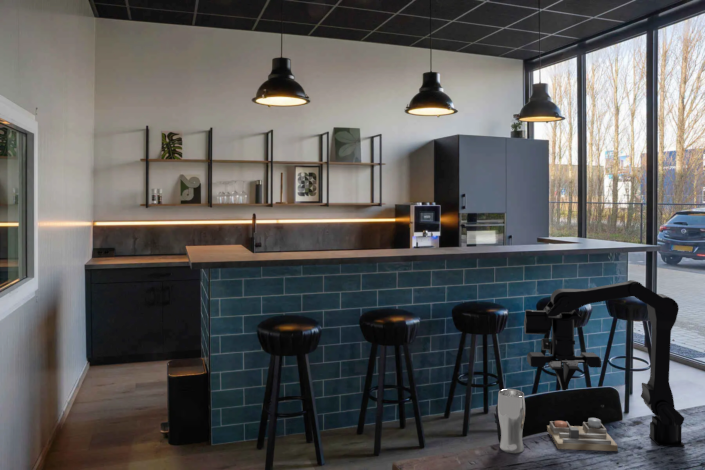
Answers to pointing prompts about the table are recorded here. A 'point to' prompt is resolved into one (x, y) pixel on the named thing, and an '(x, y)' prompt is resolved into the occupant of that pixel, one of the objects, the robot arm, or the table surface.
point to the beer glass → (511, 419)
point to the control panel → (582, 438)
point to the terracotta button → (560, 424)
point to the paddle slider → (573, 433)
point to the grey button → (594, 422)
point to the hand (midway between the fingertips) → (563, 389)
